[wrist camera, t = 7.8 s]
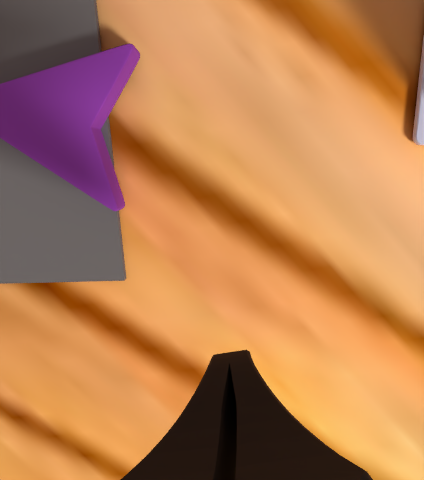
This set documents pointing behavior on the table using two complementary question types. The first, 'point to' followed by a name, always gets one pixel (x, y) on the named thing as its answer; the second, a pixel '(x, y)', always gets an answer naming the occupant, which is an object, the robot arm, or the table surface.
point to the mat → (39, 177)
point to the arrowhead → (70, 119)
